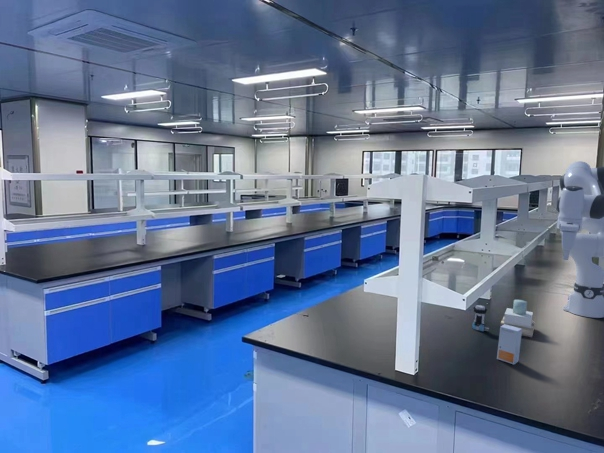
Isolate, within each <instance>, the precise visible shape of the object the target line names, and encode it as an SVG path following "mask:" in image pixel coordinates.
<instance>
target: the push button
mask: <svg viewBox="0 0 604 453" xmlns="http://www.w3.org/2000/svg"><path fill="white" fill-rule="evenodd" d="M487 311H488V308H486V306H485V305H481V304H476V305H475V306H474V307H473V312H474V320H473V322H472V325H471V327H472V330H475V331H479V332H484V331H487V332H488V331H489V329H490V328H489V327H486V323H485V315H486V314H487Z"/></svg>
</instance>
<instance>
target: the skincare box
mask: <svg viewBox="0 0 604 453" xmlns="http://www.w3.org/2000/svg"><path fill="white" fill-rule="evenodd" d="M499 327H500V326H499ZM521 342H522V329H521V328H517V327H514V326H509V325H506V324H504V325H502V326H501V327H500V328H499V335H498V345H497V354H496V360H500V361H501V362H505V363H508V364H512V365H513V366H514V365H516V364H517V363H518V362H519V360H520V359H519V358H520V350H521Z"/></svg>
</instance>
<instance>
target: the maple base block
mask: <svg viewBox="0 0 604 453" xmlns="http://www.w3.org/2000/svg"><path fill="white" fill-rule="evenodd" d="M504 317H505V315H503V316H502V319H501V321H500V326H499V327H501V326H502V325H504V324H506V323H504ZM535 323H536V321H534V320H532V324H531V328H528V327H522V326H517V325H511V324H506V325H509V326H514V327H517V328H521V329H522V335H521V337H527V338H528V337H529V338H533V335H534V332H535V331H534V330H535Z"/></svg>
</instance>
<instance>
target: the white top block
mask: <svg viewBox="0 0 604 453" xmlns="http://www.w3.org/2000/svg"><path fill="white" fill-rule="evenodd" d="M533 314H534V313H533V311H528V310H526V315H519V314H515V313H513V308H510V307H509V308H508V307H506V310H505V312H504V316H505V317H504V316H503V317H504V323H506V324H511V325H517V326H522V327H528V328H531V324H532V321H533Z"/></svg>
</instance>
